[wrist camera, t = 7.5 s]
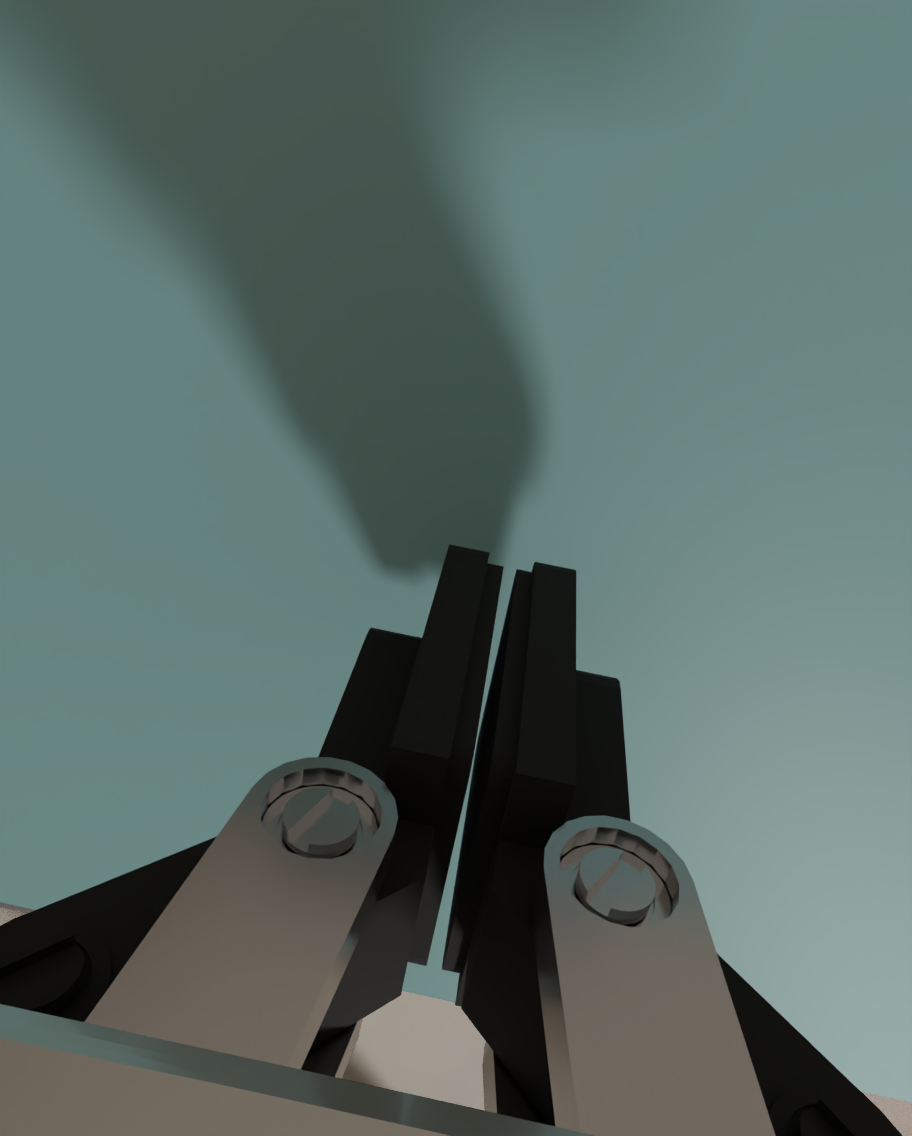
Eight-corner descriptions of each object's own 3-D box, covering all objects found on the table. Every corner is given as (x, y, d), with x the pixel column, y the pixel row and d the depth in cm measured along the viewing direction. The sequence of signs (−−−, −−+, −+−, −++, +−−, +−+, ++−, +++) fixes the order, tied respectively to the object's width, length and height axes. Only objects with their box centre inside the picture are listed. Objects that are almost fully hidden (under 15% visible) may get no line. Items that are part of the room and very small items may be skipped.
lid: (903, 1064, 19) (920, 1122, 18) (-51, 855, 19) (-86, 899, 18) (1819, -47, 8) (1997, -63, 7) (-369, -424, 9) (-496, -489, 8)
